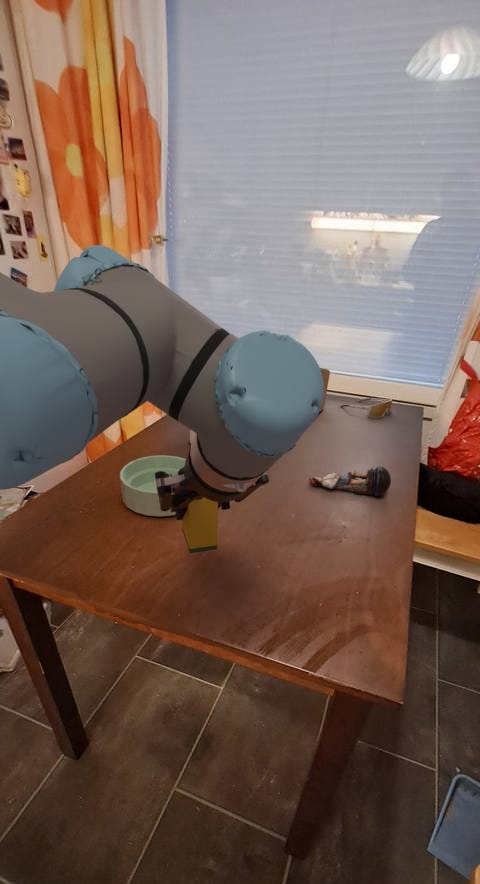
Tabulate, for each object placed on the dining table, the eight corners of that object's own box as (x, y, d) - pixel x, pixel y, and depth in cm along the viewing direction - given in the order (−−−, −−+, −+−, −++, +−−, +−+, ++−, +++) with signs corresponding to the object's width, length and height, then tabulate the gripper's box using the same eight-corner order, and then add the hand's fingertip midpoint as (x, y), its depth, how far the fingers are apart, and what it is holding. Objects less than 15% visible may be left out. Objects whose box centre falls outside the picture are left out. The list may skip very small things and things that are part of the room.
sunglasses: (374, 421, 135) (376, 405, 132) (336, 413, 144) (337, 398, 142) (398, 412, 143) (400, 397, 140) (360, 406, 153) (361, 391, 150)
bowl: (112, 514, 83) (108, 488, 80) (135, 476, 96) (133, 452, 93) (193, 522, 83) (193, 496, 79) (205, 482, 96) (205, 458, 93)
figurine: (393, 471, 89) (308, 464, 94) (388, 501, 91) (306, 493, 96) (392, 464, 96) (313, 459, 101) (388, 493, 98) (311, 486, 103)
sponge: (190, 553, 60) (188, 499, 55) (181, 530, 64) (180, 478, 59) (217, 549, 61) (218, 496, 56) (207, 526, 66) (207, 475, 60)
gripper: (145, 503, 39) (139, 541, 61) (312, 485, 43) (250, 526, 66) (134, 427, 40) (132, 491, 62) (298, 416, 44) (241, 480, 67)
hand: (193, 509), depth 64 cm, fingers closed on sponge, 4 cm apart
